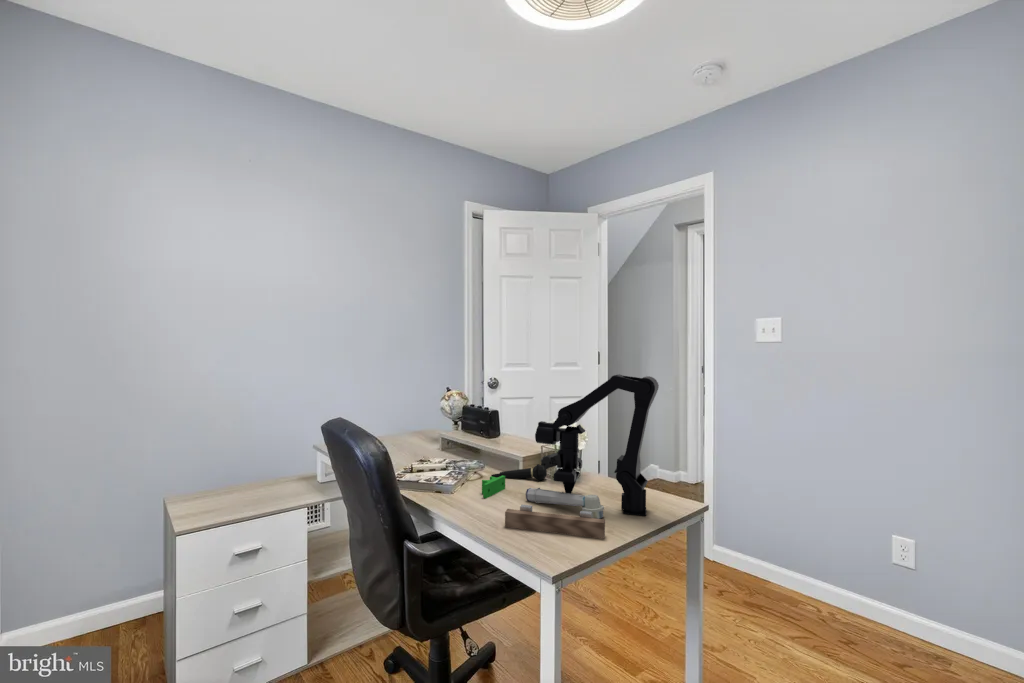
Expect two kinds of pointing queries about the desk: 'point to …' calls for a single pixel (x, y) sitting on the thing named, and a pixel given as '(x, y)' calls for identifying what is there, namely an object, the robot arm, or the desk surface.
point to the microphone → (525, 473)
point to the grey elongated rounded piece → (567, 500)
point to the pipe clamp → (493, 486)
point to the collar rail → (555, 522)
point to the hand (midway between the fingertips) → (568, 496)
